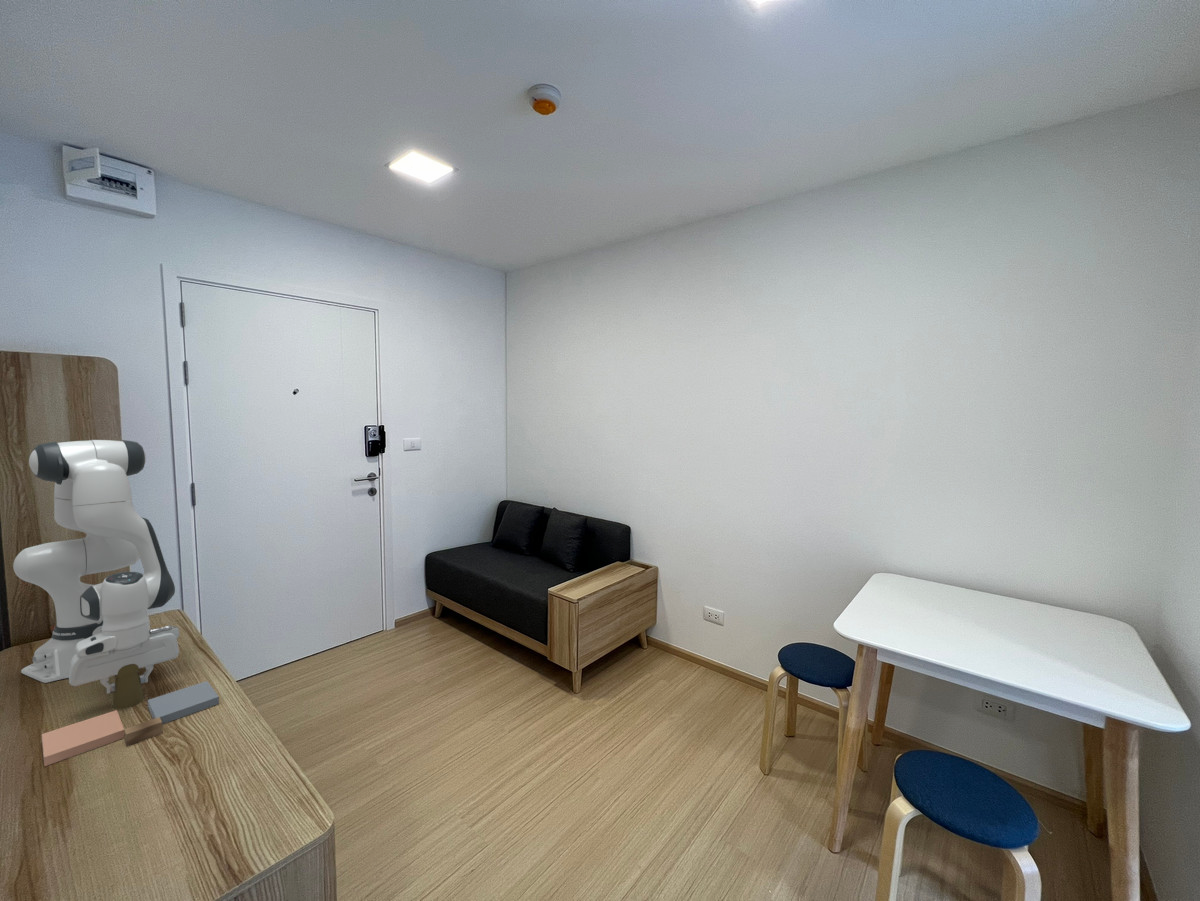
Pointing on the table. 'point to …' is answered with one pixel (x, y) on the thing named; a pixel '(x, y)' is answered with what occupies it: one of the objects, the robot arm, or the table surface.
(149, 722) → the walnut brick
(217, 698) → the steel tile
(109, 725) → the terracotta tile
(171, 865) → the table surface
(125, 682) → the olive rounded tall piece
